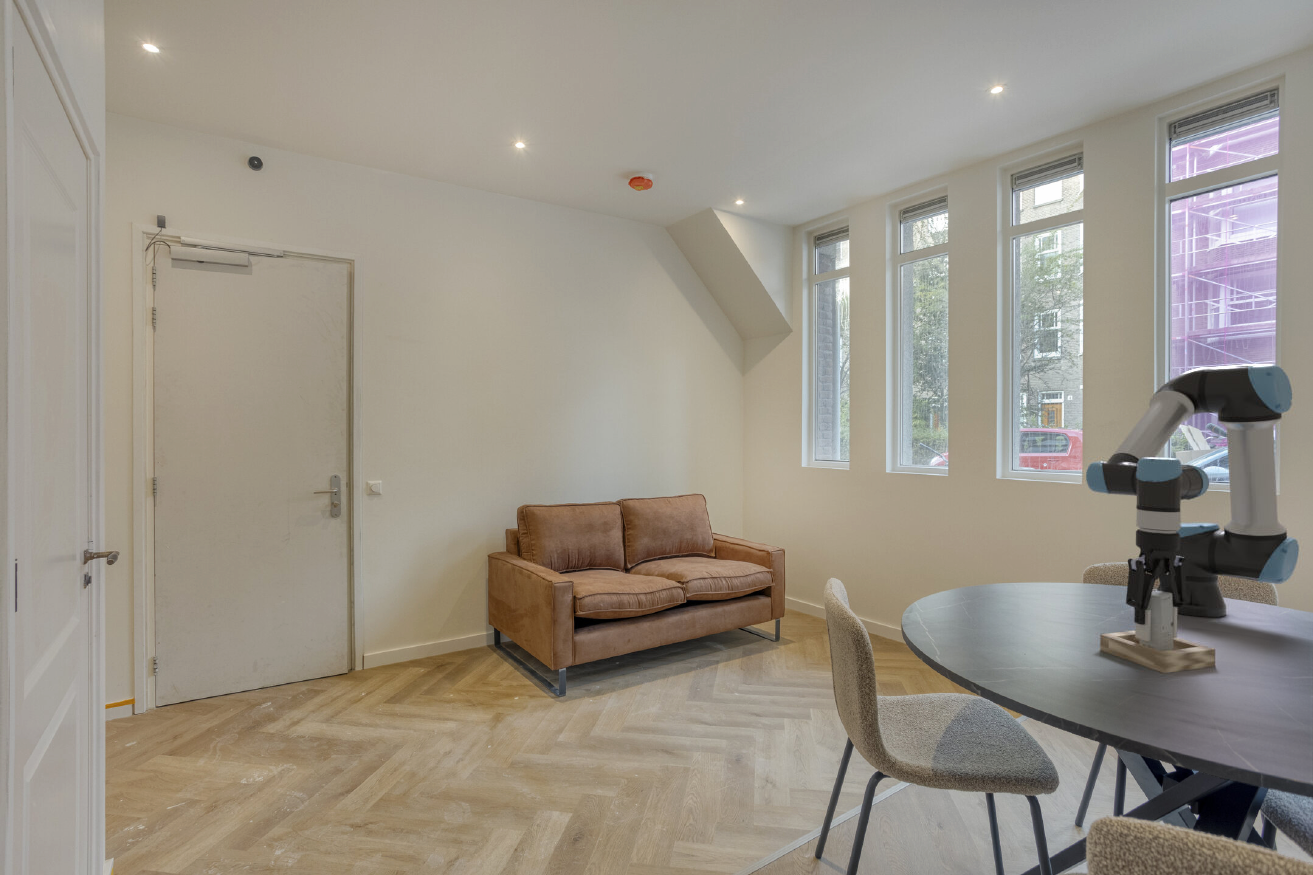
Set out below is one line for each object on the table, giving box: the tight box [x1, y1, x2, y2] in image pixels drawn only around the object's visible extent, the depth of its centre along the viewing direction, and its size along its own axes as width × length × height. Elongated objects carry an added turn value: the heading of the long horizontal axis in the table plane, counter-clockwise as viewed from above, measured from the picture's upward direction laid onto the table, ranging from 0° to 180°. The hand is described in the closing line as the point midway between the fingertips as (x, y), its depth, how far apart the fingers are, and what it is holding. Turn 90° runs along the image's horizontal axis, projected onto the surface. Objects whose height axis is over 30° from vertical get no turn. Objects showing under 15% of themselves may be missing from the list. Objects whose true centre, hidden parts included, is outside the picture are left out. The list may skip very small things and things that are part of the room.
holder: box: [1099, 630, 1216, 674], centre depth 142 cm, size 14×14×4 cm
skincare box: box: [1139, 589, 1173, 652], centre depth 142 cm, size 6×4×12 cm
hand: (1156, 637), depth 142 cm, fingers closed on skincare box, 7 cm apart
